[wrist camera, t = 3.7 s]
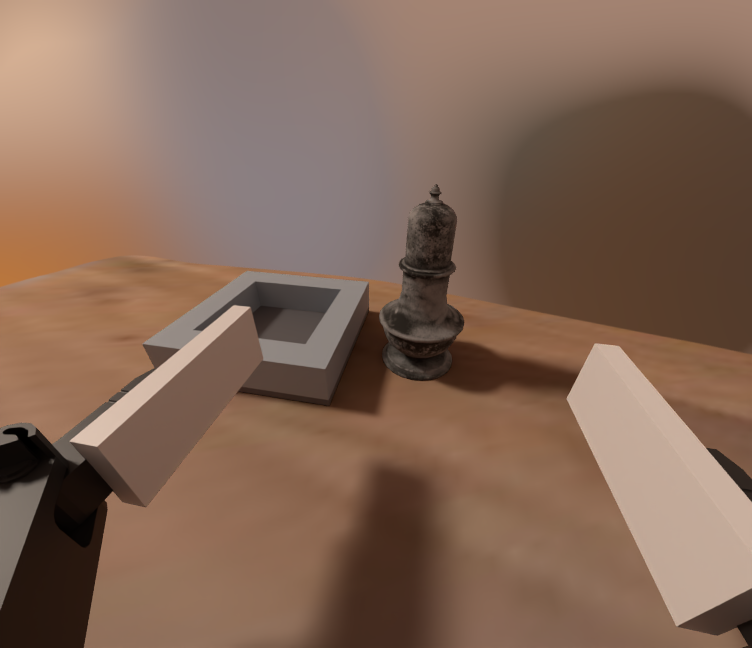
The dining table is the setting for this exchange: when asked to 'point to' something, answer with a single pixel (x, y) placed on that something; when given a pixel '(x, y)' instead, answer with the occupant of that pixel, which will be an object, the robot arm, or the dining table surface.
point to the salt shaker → (424, 297)
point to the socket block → (283, 331)
